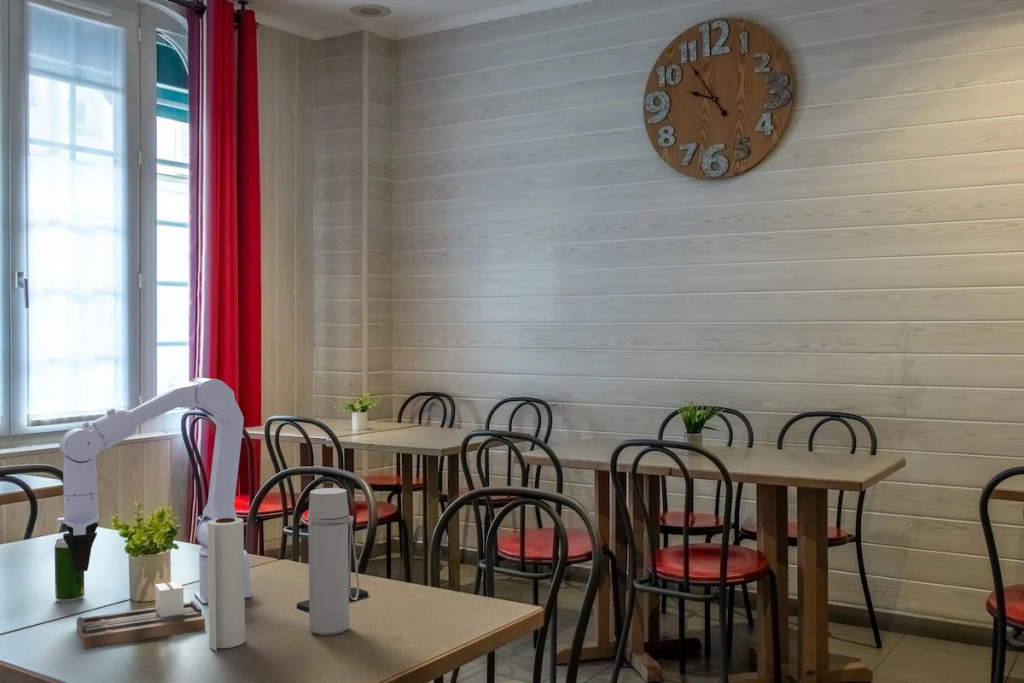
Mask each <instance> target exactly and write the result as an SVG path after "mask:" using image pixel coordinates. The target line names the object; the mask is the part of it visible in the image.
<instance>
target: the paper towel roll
mask: <svg viewBox="0 0 1024 683" xmlns="http://www.w3.org/2000/svg"><path fill="white" fill-rule="evenodd" d="M244 525H245V524H244V519H243V518H241V517H237V518H218V519H213V520H210V521H208V522H207V536H208V603H207V606H208V646H209V647H210V649H211V650H214V651H215V653H218V652H217V649H229V648H230V649H231V648H234V647H238V646H240V645H243V644H244V643H245V642H246V615H245V614H246V612H245V609H246V607H245V606H246V604H245V602H246V601H245V600H246V598H245V597H244V550H245V543H244V542H245V540H244V539H245V538H244V537H245V536H244V534H245V533H244V528H245V526H244Z"/></svg>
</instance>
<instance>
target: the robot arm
mask: <svg viewBox="0 0 1024 683" xmlns="http://www.w3.org/2000/svg"><path fill="white" fill-rule="evenodd" d="M236 400H237V399H236V398H235V392H234V390H233V389H231V387H230V386H229V385H227V384H226V383H225V382H224V381H222V380H221V379H218V378H207V377H205V376H199V377H196V378H195V377H194V378H193V379H192V380H190V381H186V382H185V381H184V382H182V383H180V384H178V385H175V386H174V387H172V388H169V389H168V390H166V391H164V392H162V393H160V394H158V395H157V396H154V397H153V398H151V399H149V400H147V401H145V402H143V403H140V404H139V405H138V406H135V407H134V408H132V409H130V410H127V409H125V408H121V407H119V408H117V409H115V408H110V409H107V410H106V412H105V413H106V414H105V415H103V416H101V417H98V418H97V419H95V420H93V421H90V422H89V421H85V422H83V423H82V424H81V425H82V428H73V429H72V428H71V429H70V430H68V431H66V433H65V434H64V435H63V436H62V438H61V440H60V444H59V445H58V446H59V450H60V452H61V453H62V455H64V456H63V469H62V473H63V474H62V477H63V480H62V481H63V482H62V483H63V484H62V485H63V516H62V517H58V518H57V519H56V521H57V522H56V523H57V524H65V525H66V526H65V528H66V530H67V533H65V532H64V533H63V535H62V538H64V540H65V542H66V544H67V546H68V548H69V550H70V553H71V558H72V562H73V567H74V570H75V572H80V571H84V572H88V570H89V565H90V559H91V553H92V547H93V545H94V542H95V539H96V537H97V534H98V532H96V530H97V529H98V526H99V520H100V515H99V514H98V513H99V512H98V511H99V509H98V478H97V477H98V473H97V470H98V469H97V464H96V463H97V462H96V457H97V456H98V455H99V452H100V450H101V451H104V450H106V449H108V448H110V447H112V446H114V445H116V444H118V443H121V442H122V441H124V440H126V439H128V438H131V437H132V436H134V435H135V433H136V431H137V429H138V427H139V426H140V425H141V424H144V423H146V422H148V421H151V420H152V419H155V418H157V417H159V416H162V415H164V414H166V413H168V412H170V411H172V410H175V409H177V408H184V409H185V408H186V409H189V408H191V409H197V410H199V411H201V413H202V412H203V413H204V414H205V415H206V416H207V417H208V418H209V419H210V421H212V423H214V424H215V427H216V429H215V435H214V443H213V444H214V446H213V452H212V462H211V471H210V472H211V473H210V480H209V488H208V496H207V497H208V498H207V504H206V505H205V507H204V508H203V510H202V517H201V519H200V521H199V523H198V524H197V527H196V530H195V537H196V539H197V541H198V542H199V544H200V545H201V547H200V549H199V551H198V553H199V555H198V559H199V560H198V562H199V564H198V565H199V566H198V567H199V568H198V569H199V591H195V592H194V596H195V597H196V598H197V600H199V602H200V603H201V604H208V536H207V522H208V521H210V520H213V519H218V518H238V516H237V512H236V508H235V502H236V493H237V492H236V490H237V485H238V484H237V481H238V475H239V474H238V473H239V465H240V457H241V456H240V455H241V446H242V438H243V429H244V423H245V422H244V420H245V419H244V416H243V415H244V414H243V412H242V410H241V408H240V406H239V405H238V402H237V401H236ZM250 575H251V574H250V560H249V555H248V552H247V550H245V549H244V597H245V599H247V598H251V592H250V591H251V590H250V589H251V585H250V584H251V583H250V579H251V578H250Z"/></svg>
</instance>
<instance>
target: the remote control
mask: <svg viewBox="0 0 1024 683" xmlns="http://www.w3.org/2000/svg"><path fill="white" fill-rule="evenodd" d="M356 593H357V587H351V596H352V598H355V597H356ZM367 596H368V597H369V591H368V590H365V589H362V588H359V595H358V600H360V599H359V598H362V599H364V598H363V597H365V598H368V597H367ZM349 601H351V602H353V601H352V599H351V598H350V596H349ZM296 609H297V610H300V611H302V610H303V612H306V613H309V599H306V600H304V601H299V602H297V603H296Z"/></svg>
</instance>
